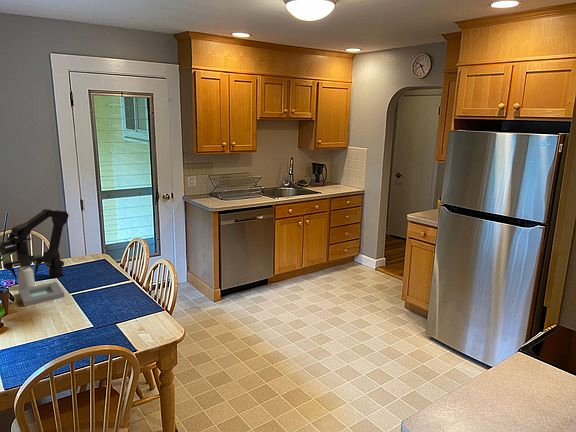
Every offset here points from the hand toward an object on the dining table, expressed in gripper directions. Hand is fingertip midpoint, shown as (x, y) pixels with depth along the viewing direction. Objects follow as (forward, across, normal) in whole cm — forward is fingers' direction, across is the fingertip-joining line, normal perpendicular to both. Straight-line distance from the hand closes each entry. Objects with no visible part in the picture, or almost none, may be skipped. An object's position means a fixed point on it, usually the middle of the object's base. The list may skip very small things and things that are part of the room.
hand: (25, 276), depth 227 cm
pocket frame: (+6, +4, -17) cm, 19 cm away
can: (+6, 0, 0) cm, 6 cm away
